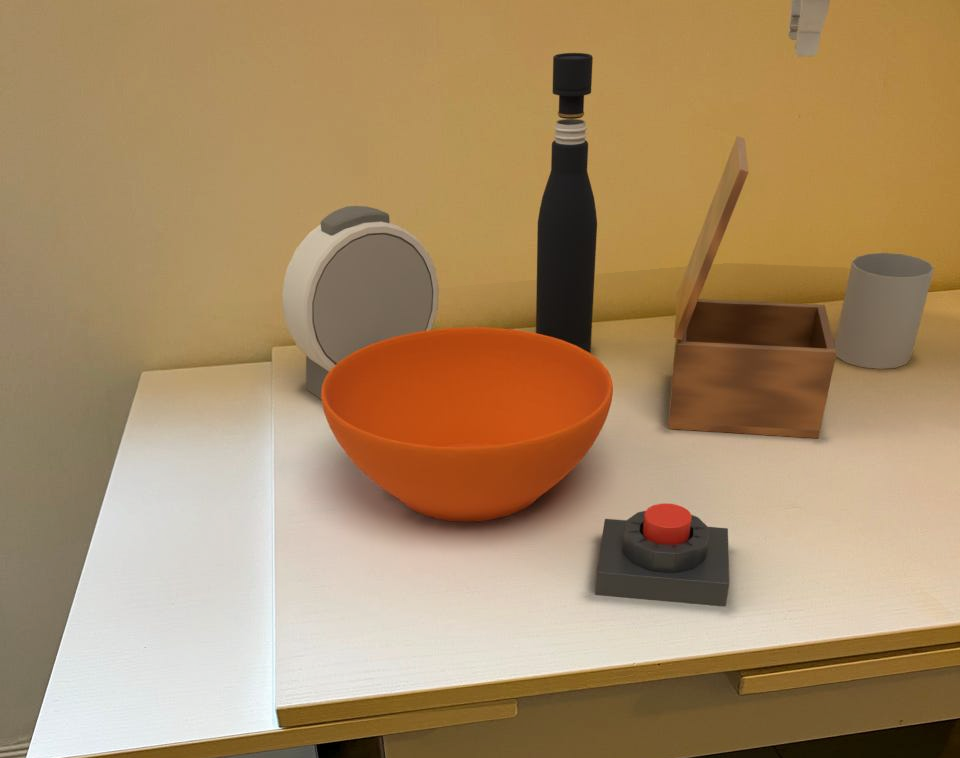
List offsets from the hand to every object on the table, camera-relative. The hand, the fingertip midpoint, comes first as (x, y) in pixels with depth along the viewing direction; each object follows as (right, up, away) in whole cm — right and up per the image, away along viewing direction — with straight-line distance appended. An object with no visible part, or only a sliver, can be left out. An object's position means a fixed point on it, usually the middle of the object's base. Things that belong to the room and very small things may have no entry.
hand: (801, 46), depth 87 cm
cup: (+16, -20, +26) cm, 37 cm away
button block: (-14, -47, -8) cm, 49 cm away
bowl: (-29, -38, +4) cm, 48 cm away
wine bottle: (-19, -19, +28) cm, 39 cm away
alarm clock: (-41, -24, +22) cm, 52 cm away
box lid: (-6, -14, +6) cm, 17 cm away
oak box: (-1, -28, +16) cm, 32 cm away
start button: (-14, -44, -10) cm, 47 cm away
